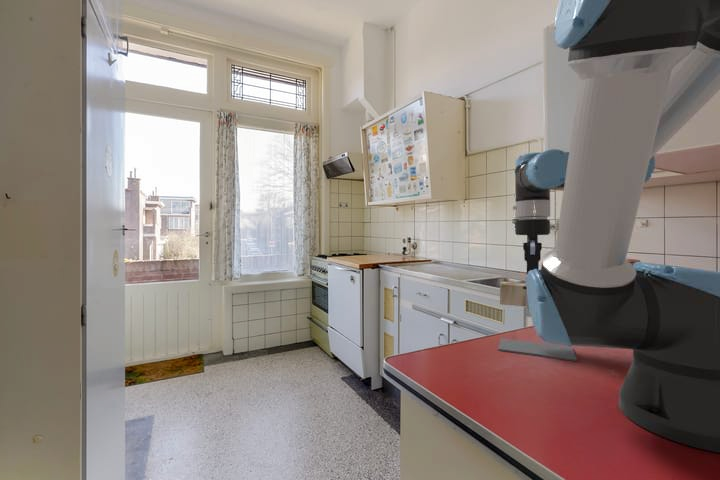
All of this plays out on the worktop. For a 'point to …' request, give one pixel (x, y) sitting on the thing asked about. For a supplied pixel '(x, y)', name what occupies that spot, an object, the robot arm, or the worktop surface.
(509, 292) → the block
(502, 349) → the mat
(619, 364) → the worktop surface
